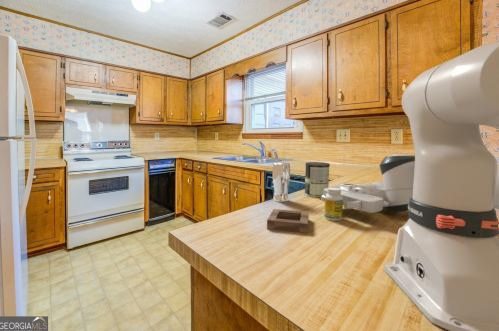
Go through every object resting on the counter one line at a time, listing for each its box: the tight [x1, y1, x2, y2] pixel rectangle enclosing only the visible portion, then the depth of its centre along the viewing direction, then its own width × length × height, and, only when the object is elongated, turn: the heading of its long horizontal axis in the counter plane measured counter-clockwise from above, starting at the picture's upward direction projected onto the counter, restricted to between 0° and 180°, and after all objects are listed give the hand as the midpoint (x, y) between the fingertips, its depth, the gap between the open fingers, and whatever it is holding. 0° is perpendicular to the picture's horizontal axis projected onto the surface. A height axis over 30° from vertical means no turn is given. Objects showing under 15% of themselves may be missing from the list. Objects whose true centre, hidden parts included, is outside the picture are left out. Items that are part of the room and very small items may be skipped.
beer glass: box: [272, 162, 291, 203], centre depth 100 cm, size 7×7×15 cm
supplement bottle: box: [324, 188, 344, 222], centre depth 78 cm, size 5×5×10 cm
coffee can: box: [304, 161, 331, 198], centre depth 110 cm, size 10×10×14 cm
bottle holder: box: [266, 208, 310, 234], centre depth 73 cm, size 11×11×2 cm
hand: (333, 201), depth 78 cm, fingers open, 8 cm apart
